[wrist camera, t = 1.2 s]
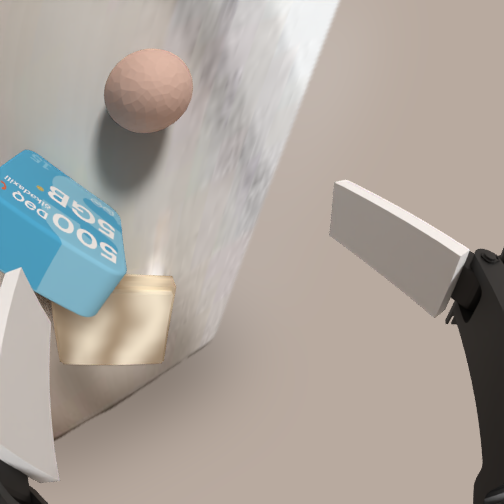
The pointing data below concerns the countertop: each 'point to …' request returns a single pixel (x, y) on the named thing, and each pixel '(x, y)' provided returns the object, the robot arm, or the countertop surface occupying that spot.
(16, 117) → the countertop surface
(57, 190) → the blue box
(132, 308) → the stand
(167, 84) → the egg
